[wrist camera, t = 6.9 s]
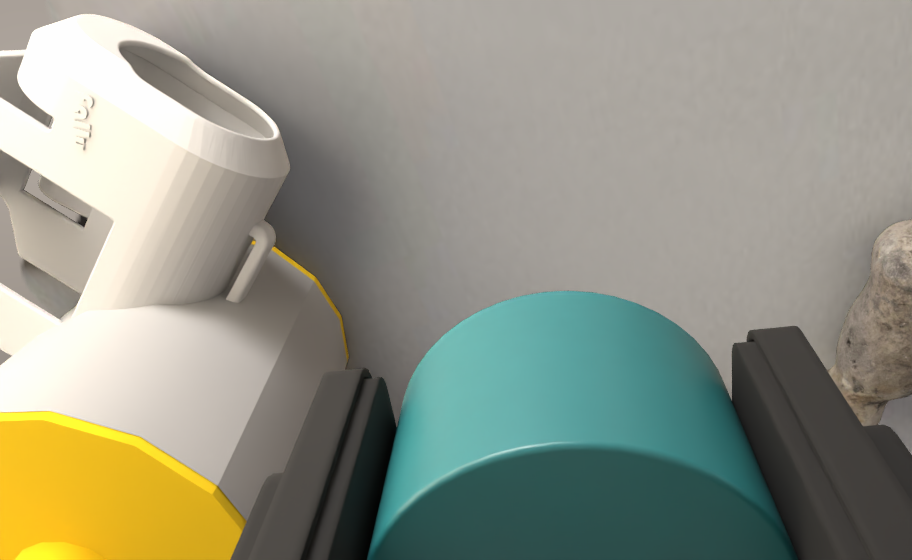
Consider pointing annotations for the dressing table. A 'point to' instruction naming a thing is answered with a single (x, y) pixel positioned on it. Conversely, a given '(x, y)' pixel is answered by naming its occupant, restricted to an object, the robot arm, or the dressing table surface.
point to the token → (572, 444)
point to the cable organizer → (130, 173)
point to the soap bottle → (160, 420)
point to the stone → (879, 330)
